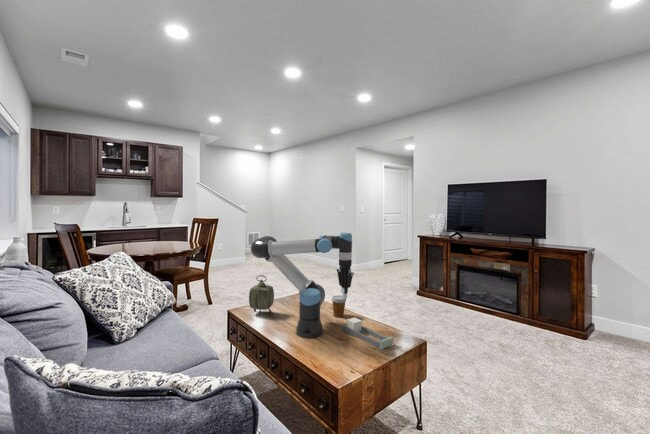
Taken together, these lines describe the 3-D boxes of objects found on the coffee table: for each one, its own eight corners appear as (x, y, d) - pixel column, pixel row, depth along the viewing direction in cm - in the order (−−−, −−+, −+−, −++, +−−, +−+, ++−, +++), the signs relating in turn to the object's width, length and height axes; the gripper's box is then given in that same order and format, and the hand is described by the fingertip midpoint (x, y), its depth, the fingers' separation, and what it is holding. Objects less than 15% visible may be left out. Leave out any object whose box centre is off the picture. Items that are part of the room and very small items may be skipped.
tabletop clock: (273, 311, 207) (274, 274, 206) (269, 316, 198) (269, 277, 197) (252, 310, 209) (253, 273, 208) (247, 315, 200) (247, 276, 199)
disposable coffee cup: (335, 312, 209) (336, 294, 209) (348, 314, 204) (348, 296, 204) (328, 316, 201) (328, 298, 200) (341, 319, 196) (342, 300, 196)
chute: (381, 349, 157) (382, 342, 157) (341, 329, 181) (342, 322, 181) (393, 345, 163) (393, 337, 162) (352, 325, 187) (353, 319, 186)
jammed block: (353, 333, 175) (353, 323, 175) (346, 329, 180) (346, 319, 180) (361, 330, 179) (361, 320, 179) (354, 327, 184) (354, 317, 184)
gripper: (357, 260, 182) (356, 300, 183) (342, 256, 192) (342, 294, 193) (348, 261, 177) (347, 302, 178) (333, 257, 187) (332, 296, 189)
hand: (344, 298), depth 186 cm, fingers closed
